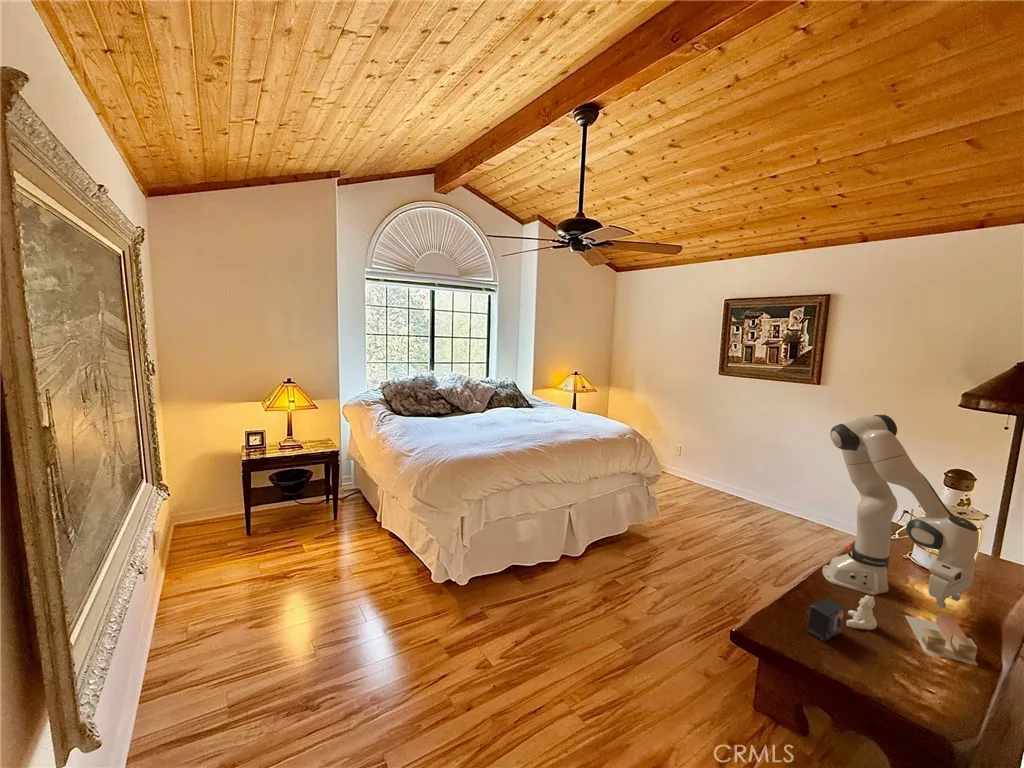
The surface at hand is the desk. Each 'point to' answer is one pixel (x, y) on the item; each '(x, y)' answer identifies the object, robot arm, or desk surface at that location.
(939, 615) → the lintel
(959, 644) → the pillar
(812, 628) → the small box
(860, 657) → the desk surface
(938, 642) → the pillar
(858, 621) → the seated beast figurine
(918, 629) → the blueprint mat
